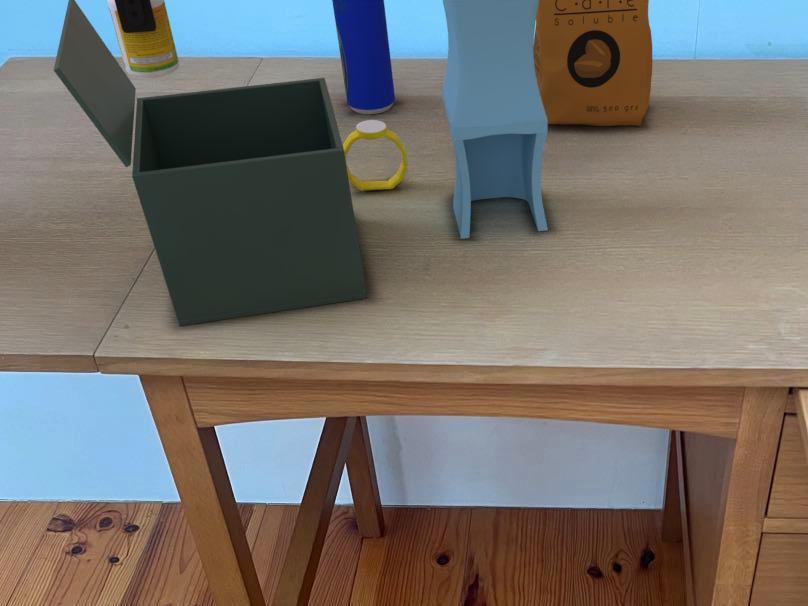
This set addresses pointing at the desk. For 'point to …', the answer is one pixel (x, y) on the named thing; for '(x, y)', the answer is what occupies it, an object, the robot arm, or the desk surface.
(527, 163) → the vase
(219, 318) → the open box
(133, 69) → the supplement bottle
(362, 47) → the beverage can
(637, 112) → the coffee package
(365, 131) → the watch
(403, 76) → the desk surface
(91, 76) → the box flap
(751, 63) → the desk surface
